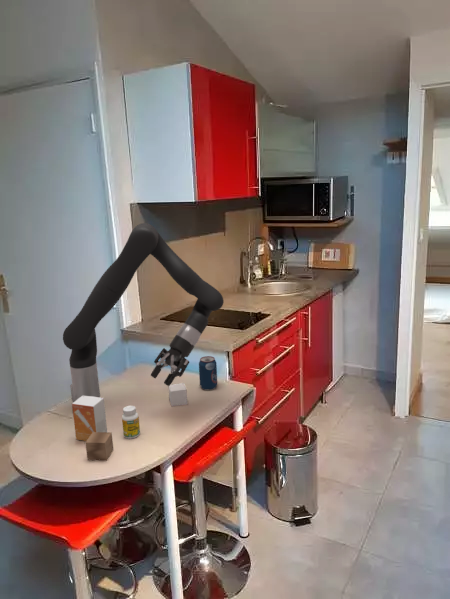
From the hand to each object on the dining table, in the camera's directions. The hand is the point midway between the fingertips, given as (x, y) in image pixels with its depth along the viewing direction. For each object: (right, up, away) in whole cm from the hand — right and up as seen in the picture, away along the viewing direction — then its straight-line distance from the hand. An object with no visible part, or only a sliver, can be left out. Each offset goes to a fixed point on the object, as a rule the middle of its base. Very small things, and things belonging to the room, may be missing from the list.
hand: (159, 380), depth 160 cm
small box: (-22, -18, -3) cm, 28 cm away
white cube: (+4, -11, +19) cm, 22 cm away
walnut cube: (-16, -20, -14) cm, 29 cm away
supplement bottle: (-9, -17, -3) cm, 20 cm away
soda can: (+15, -8, +30) cm, 35 cm away
